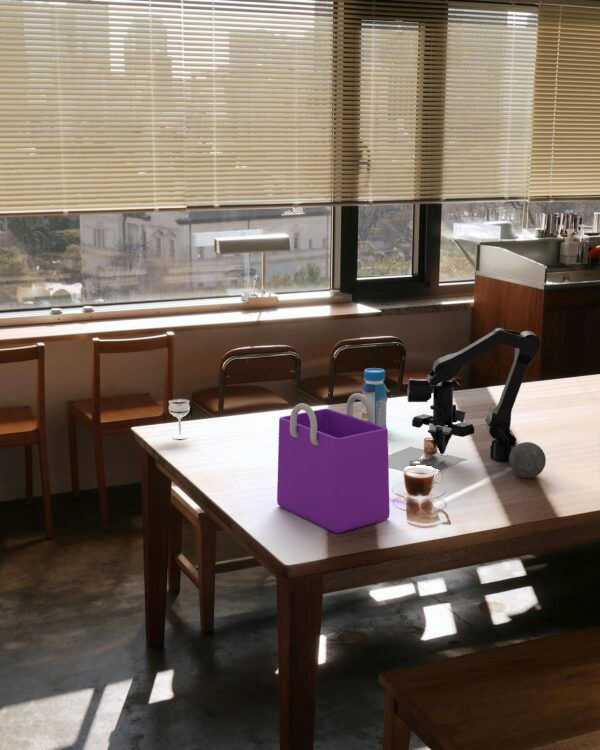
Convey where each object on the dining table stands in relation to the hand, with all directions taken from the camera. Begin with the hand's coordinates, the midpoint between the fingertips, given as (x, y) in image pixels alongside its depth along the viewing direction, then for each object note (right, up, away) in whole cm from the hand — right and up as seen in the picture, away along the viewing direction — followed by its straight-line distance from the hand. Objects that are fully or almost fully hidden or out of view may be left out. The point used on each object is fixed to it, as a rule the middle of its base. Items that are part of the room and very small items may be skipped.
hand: (442, 453), depth 300 cm
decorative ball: (+22, -6, -13) cm, 26 cm away
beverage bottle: (-18, +5, +35) cm, 39 cm away
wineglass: (-80, +3, +27) cm, 85 cm away
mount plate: (-7, -3, -1) cm, 8 cm away
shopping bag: (-34, -12, -40) cm, 54 cm away
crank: (-5, -2, -2) cm, 6 cm away
